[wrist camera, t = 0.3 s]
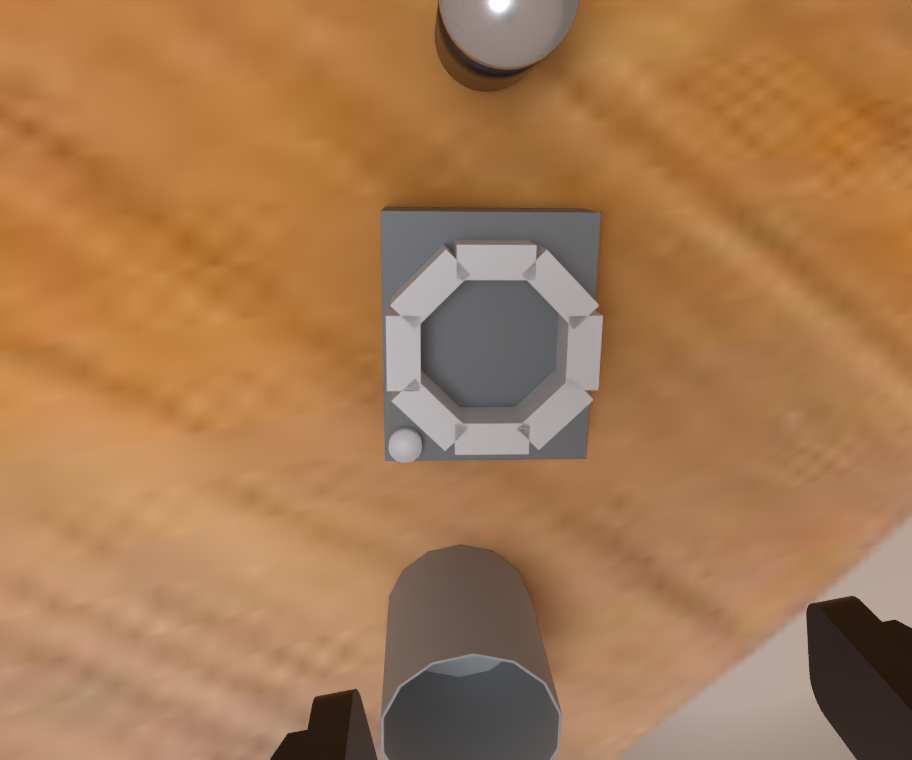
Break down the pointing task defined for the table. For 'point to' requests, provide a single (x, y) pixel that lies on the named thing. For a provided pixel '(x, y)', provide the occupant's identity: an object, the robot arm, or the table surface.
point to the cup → (466, 664)
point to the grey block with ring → (489, 332)
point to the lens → (498, 38)
